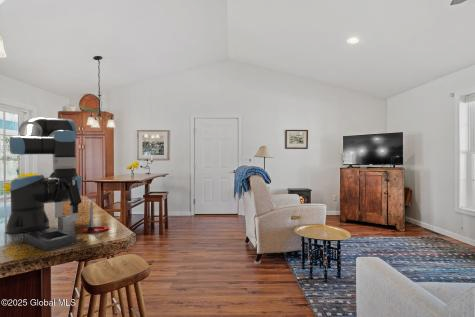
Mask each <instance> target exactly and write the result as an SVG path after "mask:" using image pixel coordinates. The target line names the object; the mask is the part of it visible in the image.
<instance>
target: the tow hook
mask: <svg viewBox="0 0 475 317" xmlns="http://www.w3.org/2000/svg"><path fill="white" fill-rule="evenodd" d="M93 204H94V202H93V201H91V202H90V207H89V222H88V227H87V228H84V229H83V230H82V233H85V234H100V232H101V233H102V232H106V231H109V228H110V227H109V226H106V225H96V226H94V205H93ZM98 228H99V229H98ZM103 228H104V229H103Z"/></svg>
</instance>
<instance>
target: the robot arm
mask: <svg viewBox="0 0 475 317" xmlns="http://www.w3.org/2000/svg"><path fill="white" fill-rule="evenodd" d="M18 133H19V135H12V136H10V137H9V142H8V143H9V146H8V147H9V152H10V153H11V154H12V155H19V156H23V155H52V172H51V173H50V175H49V177H45V176H44V174H38V175H36V174H33V175H29V176H27V175H26V176H22V177H17V178H14V179H12V180H11V181H10V189H9V192H10V214H9V217H8V220H7V223H6V224H5V225H6V226H5V232H6V233H7V234H21V233H22V234H25V233H31V232H36V231H41V230H45V229H48V228H49V227H50V219H49V218H48V215H47V212H46V210H45V204H51V203H53V204H54V218H55V219H58V217H59V216H64V212H63V211H64V210H63V209H64V206H63V205H64V204H63V203H64V202H69V212H70V214H69V215H70V222H73V221H75V222H78V221H79V205H80V204H82V198H81V188H82V179H83V177H82V176H81V175H78V172H77V168H76V167H77V155H76V154H77V152H76V150H77V149H76V148H77V147H76V146H77V144H76V141H77V137H78V133H77V125H76V123H75V121H74V119H70V118H69V119H68V118H56V117H55V118H54V117H52V118H51V117H35V118H34V117H33V118H30V119H27V120H25V121H23V122H21V124H20V125H19V126H18Z"/></svg>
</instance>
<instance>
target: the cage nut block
mask: <svg viewBox="0 0 475 317" xmlns="http://www.w3.org/2000/svg"><path fill="white" fill-rule="evenodd" d="M57 229H60V230H64V231H67V232H70V233H73V234H76V221H73V222H70V214H66V215H63V216H59V217H58V218H57Z"/></svg>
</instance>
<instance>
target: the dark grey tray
mask: <svg viewBox="0 0 475 317" xmlns="http://www.w3.org/2000/svg"><path fill="white" fill-rule="evenodd" d="M77 235H78V234H76V233H70V232H67V231H64V230H60V229H58V227H51V228H45V229H41V230H37V231H31V232H25V233H24V242H25V243H27V244H29V245H31V246H32V247H36V248H38V249H40V250H42V251H45V252H46V251H50V250H55V249H58V248H62V247H65V246H70V245H74V244H77Z"/></svg>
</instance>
